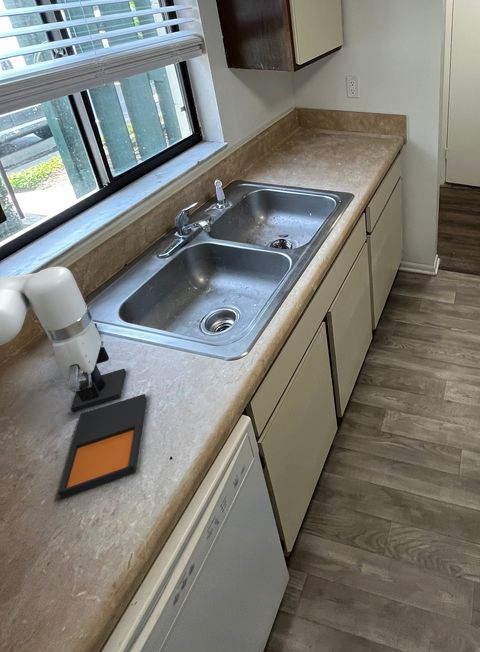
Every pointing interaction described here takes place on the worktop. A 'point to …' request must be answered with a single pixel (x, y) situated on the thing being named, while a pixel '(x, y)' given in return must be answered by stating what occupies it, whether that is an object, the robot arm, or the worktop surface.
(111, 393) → the black pad
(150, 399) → the worktop surface
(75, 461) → the base pad
